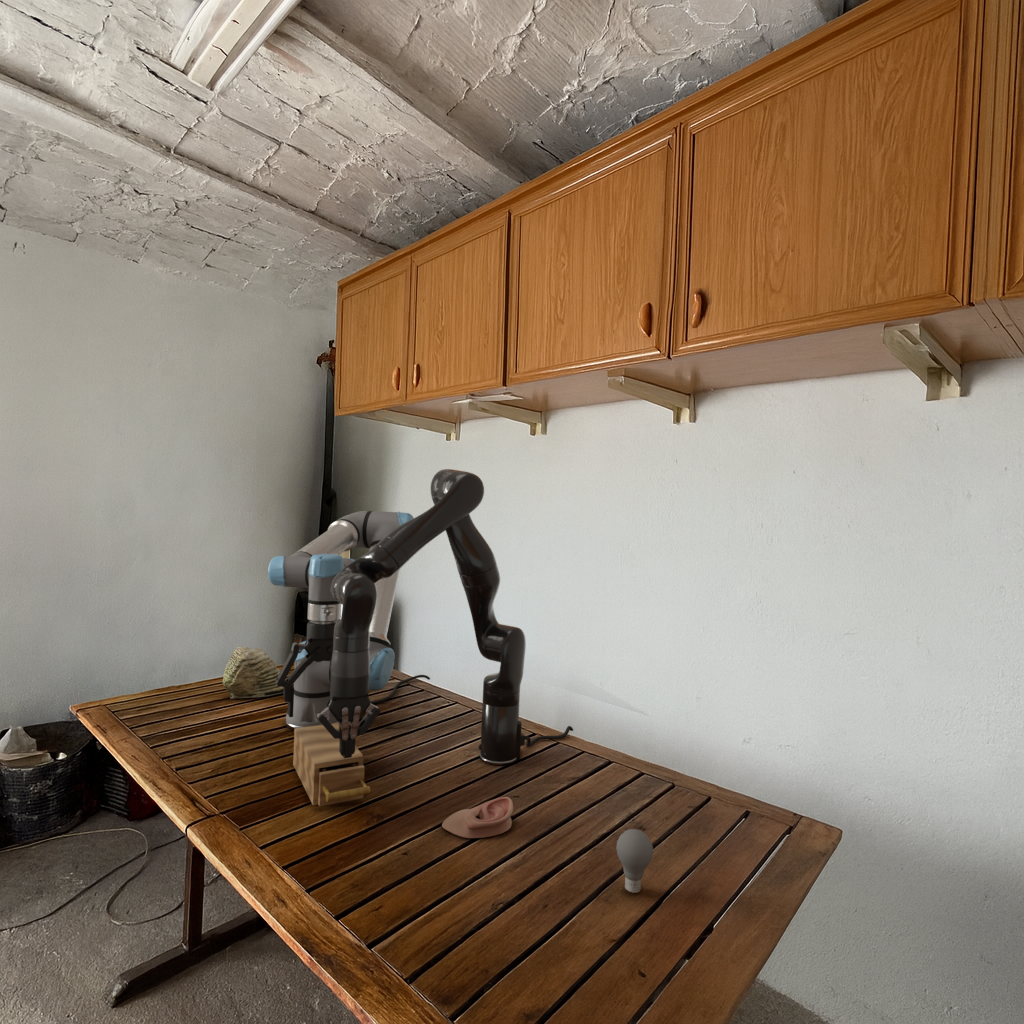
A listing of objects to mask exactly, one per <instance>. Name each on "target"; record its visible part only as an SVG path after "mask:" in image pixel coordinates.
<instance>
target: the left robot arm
mask: <svg viewBox="0 0 1024 1024" xmlns="http://www.w3.org/2000/svg"><path fill="white" fill-rule="evenodd" d="M413 518H415V517H414V516H413V515H412V514H411V513H409V512H401V511H382V510H381V511H380V510H360V511H356V512H352V513H349V514H346V515H343V516H342V517H340V518H338V519H336V520H335V521H333V522H332V523H330V524H329V526H328V528H327V530H326V531H324V532H323V533H322V534H320V535H319V536H318V537H316V538H315V539H313V540H312V541H310V542H309V543H307V544H306V545H304V546H303V547H301V548H300V549H299V550H297V551H295V552H294V553H293V554H291V555H288V556H287V555H276V556H273V558H271V560H270V561H269V564H268V568H267V577H268V580H269V582H270V583H271V584H272V585H273V586H277V587H283V588H303V589H304V588H306V589H308V600H307V602H308V603H307V618H306V619H307V620H308V622H307V624H306V640H304V641H302V642H299V643H297V642H296V641H293V642H292V644H291V648H290V652H289V654H288V656H287V658H286V659H285V662H284V664H283V665H282V667H281V669H280V673H279V675H278V677H277V678H276V680H275V682H276V684H277V685H278V686H282V687H284V692H283V693H282V695H283V696H282V697H283V701H284V702H285V703H287V710H286V712H285V726H286V728H287V729H289V730H291V731H294V729H295V728H302V727H309V726H317V725H322V723H321V722H320V721H319V720H318V718H317V717H316V714H317V713H318V712H322V711H323V710H324V709H325V708H327V703H328V701H329V699H330V683H331V670H330V668H331V660H332V654H333V640H334V627H335V624H336V622H337V621H338V620H340V619H341V616H342V604H341V603H339V602H337V601H336V600H335V599H334V598H333V596H332V594H331V584H332V581H333V579H334V578H335V576H336V575H337V574H338V573H339V572H340V571H341V570H342V569H343V568H345V567H346V566H348V565H349V564H350V563H352V562H354V561H355V560H356V559H354V558H346V557H343V556H342V555H341V554H342V553H344V552H348V551H351V550H352V549H368V552H369V551H370V550H371V549H372V548H373V547H374V546H375V545H376V544H378V543H379V542H380V541H381V540H382V539H383V538H384V537H385V536H386V535H388V534H389V533H390V532H391V531H393V530H394V529H395V528H397V527H398V526H400V525H402V524H404V523H406V522H408V521H410V520H412V519H413ZM400 571H401V568H400V569H399V570H398V571H397V572H396V573H395V574H394V575H392V576H391V577H389V578H383V579H380V580H379V581H377V582H376V583H375V585H376V589H377V601H376V606H375V610H374V614H373V618H372V622H371V625H370V639H369V655H370V671H369V691H375V692H377V691H381V690H382V689H384V688H385V687H386V685H388V683H389V681H390V680H391V677H392V674H393V671H394V666H395V657H396V655H395V651H394V649H392V648H391V641H390V640H389V639H388V637H387V636H388V631H389V626H390V621H391V616H392V611H393V606H394V601H395V598H396V597H395V596H396V592H397V586H398V582H399V577H400V576H399V575H400ZM293 666H294V669H293V670H292V672H291V669H292V668H293ZM290 672H291V673H290ZM289 673H290V674H289ZM420 678H425V679H426V680H429V681H430V680H431V677H430V676H428V675H426V674H417V675H414V676H411V677H408V678H406V679H403V680H401V681H399V682H398V683H397V684H395V686H394V687H393V689H392V692H391V693H390V694H389V695H387V696H385V697H383V698H379V699H375V700H370V701H371V704H373V705H375V704H380V703H383V702H386V701H387V700H389V699H392V697H393V696H394V695H395V694H396V692H397V689H398V688H399V687H400V686H401V685H403V684H405V683H408V682H410V681H413V680H415V679H420ZM329 722H330V723H331V724H332V723H338V721H337V720H336V718H335V717H334V716H333V715H332V713H331V712H330V720H329Z"/></svg>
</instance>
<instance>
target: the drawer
mask: <svg viewBox="0 0 1024 1024" xmlns="http://www.w3.org/2000/svg"><path fill="white" fill-rule="evenodd" d="M365 768H366V767H365V766H364V764H363V765H360V766H356V763H355V762H354V763H348V764H342V765H336V766H330V767H324V768H319V791H318V792H319V796H318V807H325V806H329V805H335V804H340V803H346V802H350V801H356V800H361V799H364V796H365V795H370V794H371V786H370V785H367V784H366V782H365V770H366V769H365Z"/></svg>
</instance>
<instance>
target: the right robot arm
mask: <svg viewBox="0 0 1024 1024" xmlns="http://www.w3.org/2000/svg"><path fill="white" fill-rule="evenodd" d="M484 485H485V484H484V482H483V480H482V479H481V478H480V476H479V475H476V474H475V473H473V472H469V471H465V470H459V469H453V468H452V469H451V468H445V469H441V470H438V471H437V472H436V473H435V474H434V475H433V478H432V479H431V482H430V496H431V499H432V502H433V506H431V507H430V508H429V509H428V510H426V511H423V513H421V514H419V515H417V516H416V517H414V518H413V519H412V520H410V521H408V522H406V523H404V524H402V525H400V526H398V527H397V528H395V529H394V530H393V531H391V532H390V533H389V534H388V535H386V536H385V537H384V538H383V539H382V540H381V541H380V542H379V543H378V544H376V545H375V546H374V547H373V548H372V549H371V550H370V551H369V550H368V551H367V553H365V554H363V555H361V556H360V557H358V558H357V559H354V560H355V561H354V562H352V563H350V564H349V565H348V566H346V567H345V568H343V569H342V570H341V571H340V572H339V573H338V574H337V575H336V576H335V578H334V579H333V581H332V584H331V594H332V596H333V598H334V599H335V600H336V601H337V602H339V603H341V605H342V609H341V619H340V620H338V621H337V622H336V624H335V627H334V640H333V654H332V660H331V668H330V670H331V683H330V699H329V701H328V703H327V708H325V709H324V710H323V711H322V712H318V713H317V714H316V717H317V718H318V720H319V721H320V722H321V723H322V725H323V726H324V727H325V728H326V729H327V730H328V732H329V733H330V734H331V735H332V736H333V738H335V739H337V738H338V739H340V741H339V752H340V754H341V755H342V756H343V757H344V758H350V757H352V754H354V752H355V746H356V739H357V737H359V736H364V735H365V734H366V732H367V731H368V730H369V729H370V727H371V726H372V724H373V723H374V721H376V719H377V718H378V716H379V715H380V713H381V709H380V708H379V707H378V706H377V705H375V704H371V701H372V700H371V699H370V696H369V695H370V694H369V691H370V690H369V671H370V655H369V639H370V625H371V622H372V618H373V614H374V610H375V606H376V601H377V589H376V585H375V583H376V582H377V581H379V580H380V579H383V578H389V577H391V576H392V575H394V574H395V573H396V572H397V571H398V570H399V569H400V570H401V568H403V567H404V566H405V564H407V563H408V562H409V561H410V560H411V559H412V558H413V557H414V556H415V555H416V554H418V553H419V552H420V551H421V550H422V549H423V548H424V547H425V546H426V545H428V544H429V543H431V542H432V541H433V540H434V539H435V538H437V537H438V536H439V535H441V534H442V533H443V532H445V533H446V536H447V539H448V542H449V545H450V549H451V552H452V555H453V558H454V561H455V564H456V569H457V572H458V575H459V578H460V582H461V585H462V587H463V590H464V593H465V596H466V600H467V604H468V607H469V611H470V614H471V619H472V623H473V628H474V629H473V630H474V635H475V639H476V645H477V648H478V651H479V653H480V655H481V656H482V657H483V658H484V659H487V660H489V661H491V662H492V661H493V662H497V663H500V666H499V671H498V672H494V673H491V674H488V675H486V676H485V677H484V678H483V683H482V702H481V703H482V704H481V705H482V707H481V727H480V728H481V730H480V744H479V745H478V751H479V759H480V760H481V761H482V762H484V763H486V764H489V765H493V766H506V765H511V764H514V763H515V762H517V761H520V760H521V751H522V750H521V749H522V748H521V747H522V746H523V747H524V746H526V747H531V746H533V745H534V744H535V743H537V742H539V741H543V740H561V739H564V738H565V737H567V736H568V734H569V733H570V731H571V732H574V728H573V726H571V725H568V726H567V727H566V729H565V730H564V732H563V733H562V734H558V735H540V736H537V737H534V738H533V739H532V738H531V737H530V736H528V735H525V734H524V733H523V732H522V726H523V725H522V724H523V723H522V721H521V720H520V699H521V698H520V696H521V684H522V681H523V677H524V669H525V658H526V645H527V644H526V643H527V642H526V641H527V640H526V635H525V632H524V631H523V629H522V628H520V627H517V626H514V625H508V624H502V623H499V621H498V620H497V616H496V614H495V610H494V609H495V608H494V603H495V599H496V597H497V594H498V591H499V589H500V584H501V574H500V571H499V566H498V563H497V560H496V557H495V554H494V552H493V550H492V548H491V547H490V545H489V543H488V541H486V539H485V538H484V536H483V535H482V534H481V532H480V531H479V529H478V528H477V527H476V525H475V523H474V521H473V519H472V517H471V513H473V511H475V510H476V509H477V508H478V507H479V506H480V505H481V503H482V501H483V499H484V496H485V486H484ZM330 712H331V713H332V715H333V716H334V717H335V718H336V720H337V721H338V725H339V730H336V729H335V728H334V727H333V726H332V724H331V723H330V722H329V720H330ZM364 714H365V715H364ZM363 715H364V716H363ZM362 717H363V718H362ZM361 718H362V719H361ZM525 742H526V743H525Z"/></svg>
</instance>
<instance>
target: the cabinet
mask: <svg viewBox="0 0 1024 1024" xmlns="http://www.w3.org/2000/svg"><path fill="white" fill-rule="evenodd" d="M332 726H333V727H334V728H335V729H336V730H339V725H338V723H332ZM339 741H340V739H338V738H337V739H335V738H333V736H332V735H331V734H330V733H329V732H328V730H327V729H326V728H325V727H324V726H323V725H317V726H309V727H302V728H295V729H294V730H293V759H292V766H293V768H294V769H295V772H296V774H297V776H298V777H299V780H300V782H301V784H302V786H303V788H304V790H305V792H306V795H307V796H308V799H309V800H310V802H311V805H312V806H317V805H318V796H319V792H318V791H319V768H324V767H330V766H336V765H342V764H348V763H354V762H355V763H356V766H360V765H363V766H364V755H363V753H362V752H361V751H360V750H359V748H358V747H357V746H356V745H355V752H354V754H352V757H350V758H344V757H343V756H342V755H341V754H340V752H339ZM318 806H319V805H318Z"/></svg>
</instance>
